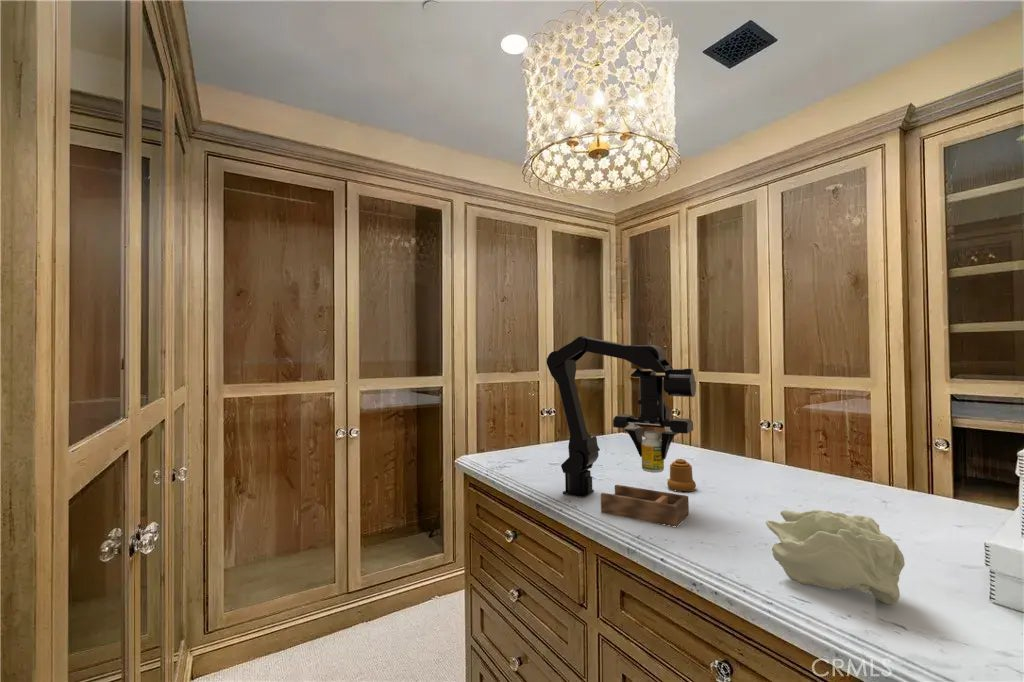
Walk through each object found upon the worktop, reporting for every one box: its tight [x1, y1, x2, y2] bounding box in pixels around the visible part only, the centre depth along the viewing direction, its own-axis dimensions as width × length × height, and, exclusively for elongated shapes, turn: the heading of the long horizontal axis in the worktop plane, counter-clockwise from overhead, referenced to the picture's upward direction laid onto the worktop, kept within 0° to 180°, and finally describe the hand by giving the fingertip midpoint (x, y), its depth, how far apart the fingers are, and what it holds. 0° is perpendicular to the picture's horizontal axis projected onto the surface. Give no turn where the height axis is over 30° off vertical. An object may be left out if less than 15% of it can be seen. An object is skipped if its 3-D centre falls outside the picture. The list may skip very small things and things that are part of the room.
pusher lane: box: [600, 484, 690, 528], centre depth 113 cm, size 18×9×4 cm, turn 53°
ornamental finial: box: [666, 458, 697, 492], centre depth 133 cm, size 8×8×8 cm
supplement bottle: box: [641, 430, 665, 474], centre depth 119 cm, size 5×5×10 cm
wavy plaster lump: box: [765, 509, 906, 605], centre depth 77 cm, size 18×13×16 cm
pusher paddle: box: [655, 495, 668, 504], centre depth 111 cm, size 1×6×3 cm, turn 144°
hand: (652, 457), depth 119 cm, fingers closed on supplement bottle, 5 cm apart
